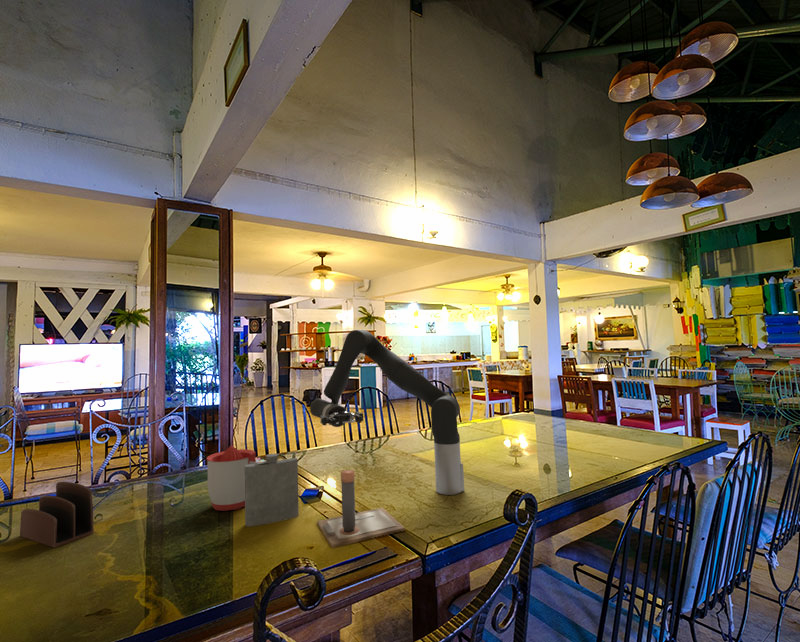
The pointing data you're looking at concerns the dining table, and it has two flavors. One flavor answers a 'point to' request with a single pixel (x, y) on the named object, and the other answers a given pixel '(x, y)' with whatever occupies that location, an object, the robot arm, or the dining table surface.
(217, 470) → the citrus juicer
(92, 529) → the letter holder
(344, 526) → the marker
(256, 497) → the hip flask
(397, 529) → the clipboard
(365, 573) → the dining table surface
